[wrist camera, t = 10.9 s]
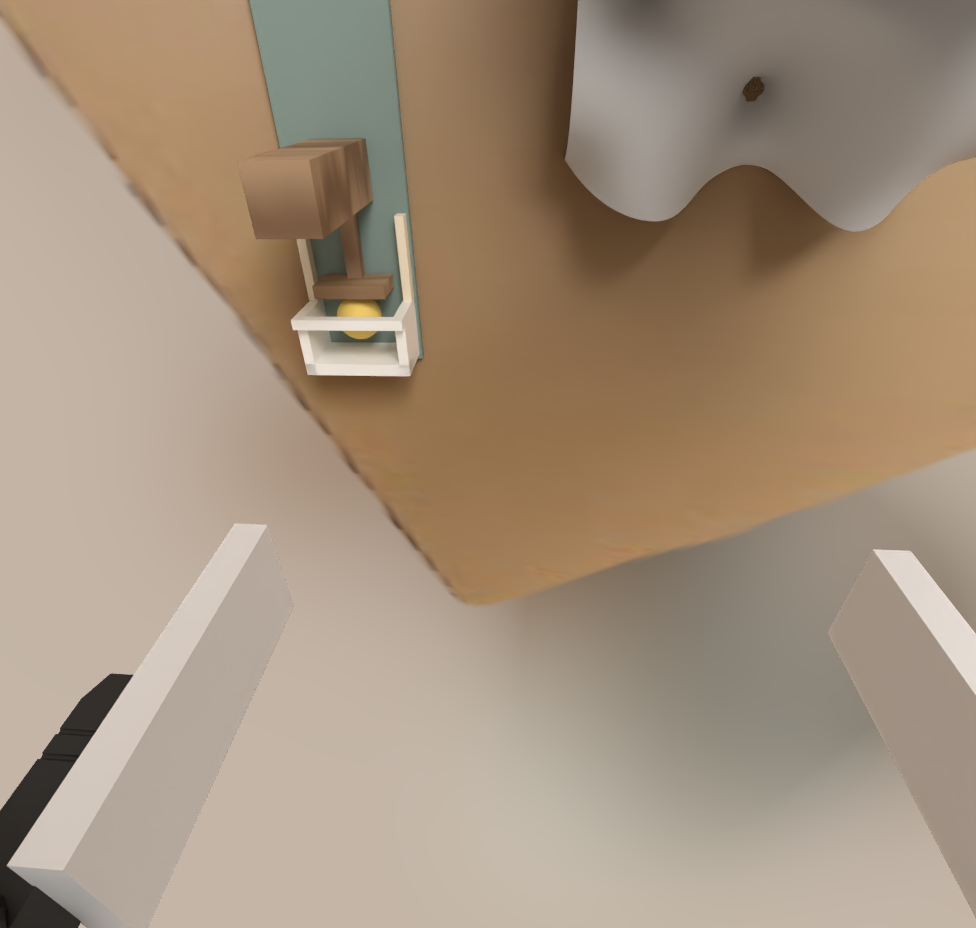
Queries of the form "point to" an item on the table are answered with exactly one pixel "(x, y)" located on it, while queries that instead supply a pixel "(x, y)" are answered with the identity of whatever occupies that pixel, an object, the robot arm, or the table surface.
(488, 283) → the table surface
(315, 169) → the tan l-shaped block
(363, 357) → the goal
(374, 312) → the ball
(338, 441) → the table surface
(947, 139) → the sculpture
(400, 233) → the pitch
